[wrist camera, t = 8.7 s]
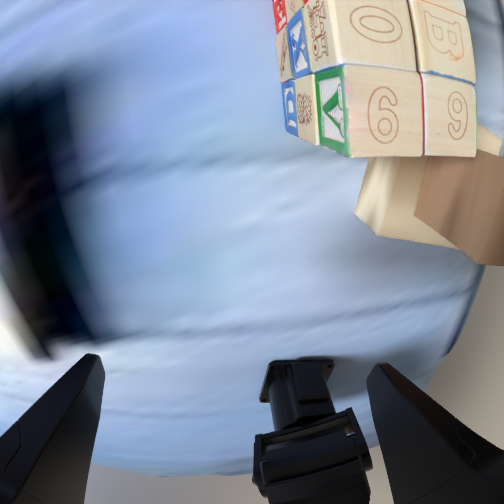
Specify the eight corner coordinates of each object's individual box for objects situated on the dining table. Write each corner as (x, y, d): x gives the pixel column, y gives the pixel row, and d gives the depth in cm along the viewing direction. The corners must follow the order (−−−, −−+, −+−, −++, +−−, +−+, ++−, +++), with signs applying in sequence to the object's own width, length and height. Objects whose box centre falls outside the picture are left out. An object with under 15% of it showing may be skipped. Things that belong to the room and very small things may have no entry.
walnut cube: (481, 157, 14) (547, 185, 9) (463, 224, 16) (521, 267, 11) (432, 136, 13) (509, 160, 8) (413, 215, 16) (477, 264, 10)
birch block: (439, 228, 21) (467, 250, 18) (352, 211, 20) (377, 235, 16) (467, 129, 17) (501, 139, 14) (381, 88, 16) (415, 88, 12)
